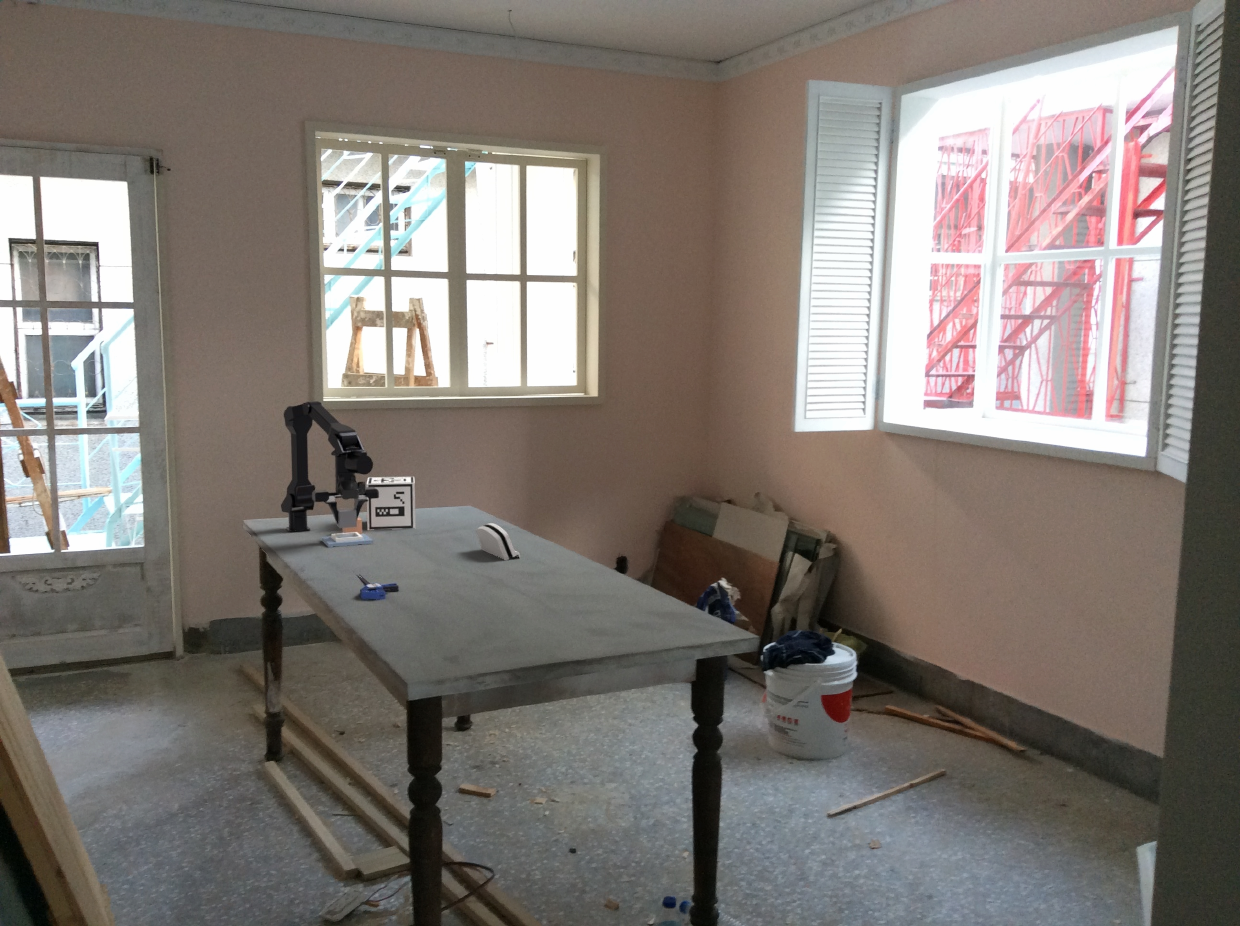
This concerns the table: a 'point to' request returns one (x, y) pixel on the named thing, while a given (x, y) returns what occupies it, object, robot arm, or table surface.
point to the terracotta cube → (354, 529)
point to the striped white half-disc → (496, 541)
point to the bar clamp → (376, 590)
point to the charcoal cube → (347, 518)
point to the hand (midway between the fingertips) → (346, 522)
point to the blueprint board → (346, 539)
